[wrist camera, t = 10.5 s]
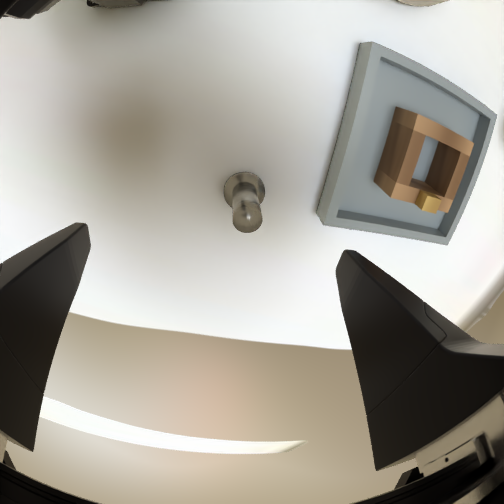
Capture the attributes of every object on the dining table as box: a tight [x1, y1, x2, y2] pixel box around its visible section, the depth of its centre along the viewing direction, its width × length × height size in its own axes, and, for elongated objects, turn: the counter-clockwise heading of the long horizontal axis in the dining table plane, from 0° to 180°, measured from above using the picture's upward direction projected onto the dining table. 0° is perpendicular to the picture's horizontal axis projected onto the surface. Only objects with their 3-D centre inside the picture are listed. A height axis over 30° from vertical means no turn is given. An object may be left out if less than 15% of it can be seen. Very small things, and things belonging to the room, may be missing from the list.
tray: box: [316, 42, 497, 245], centre depth 19 cm, size 14×14×2 cm
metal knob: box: [224, 172, 265, 233], centre depth 19 cm, size 3×3×4 cm
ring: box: [373, 106, 474, 214], centre depth 18 cm, size 6×6×4 cm
